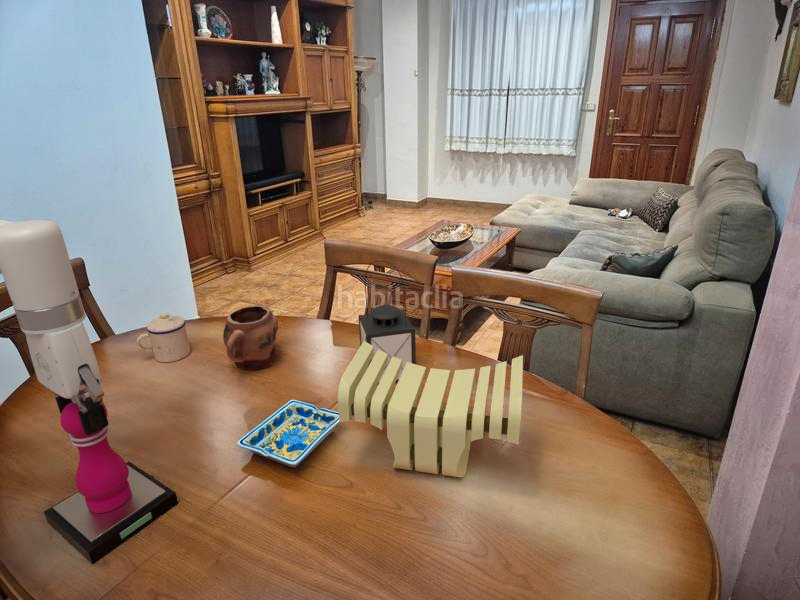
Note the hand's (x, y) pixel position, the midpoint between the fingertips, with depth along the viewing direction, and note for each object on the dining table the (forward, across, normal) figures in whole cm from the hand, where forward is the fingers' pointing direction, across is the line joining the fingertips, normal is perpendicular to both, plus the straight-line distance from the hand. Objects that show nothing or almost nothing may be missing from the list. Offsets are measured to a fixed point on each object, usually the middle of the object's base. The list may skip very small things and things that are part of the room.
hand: (85, 421), depth 76 cm
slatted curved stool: (+18, +36, +41) cm, 58 cm away
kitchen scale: (+18, 0, 0) cm, 18 cm away
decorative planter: (+18, -18, +45) cm, 52 cm away
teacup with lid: (+18, -41, +36) cm, 57 cm away
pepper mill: (+15, 0, 0) cm, 15 cm away
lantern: (+18, +12, +60) cm, 64 cm away
